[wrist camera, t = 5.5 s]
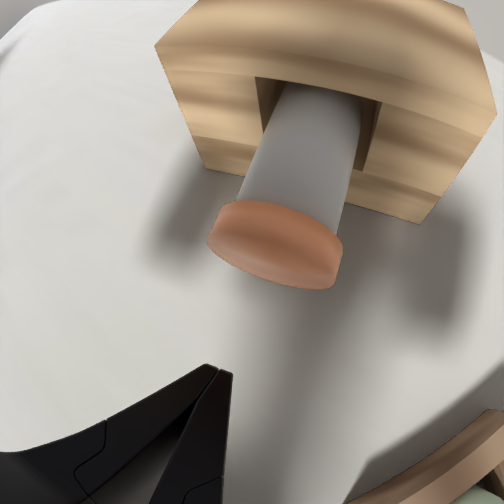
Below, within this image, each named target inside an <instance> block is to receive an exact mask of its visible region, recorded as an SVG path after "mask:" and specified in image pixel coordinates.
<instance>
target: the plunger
mask: <svg viewBox="0 0 504 504" xmlns="http://www.w3.org/2000/svg"><path fill="white" fill-rule="evenodd" d="M363 114H364V108H363V103H362V101H361V99H360V97H359V96H358V95H354V94H350V93H345V92H341V91H337V90H332V89H328V88H323V87H318V86H313V85H307V84H302V83H296V82H291V81H289V82H288V83H287V84H286V85H285V86H284V88H283V91H282V93H281V95H280V97H279V100H278V102H277V104H276V106H275V109H274V111H273V113H272V115H271V118H270V120H269V122H268V125H267V127H266V129H265V131H264V134H263V136H262V138H261V141H260V143H259V145H258V148H257V150H256V152H255V155H254V157H253V159H252V162H251V164H250V167H249V169H248V171H247V174H246V176H245V178H244V181H243V183H242V186H241V188H240V190H239V193H238V195H237V198H236V200H235V201H233V202H229V203H227V204H225V205H223V206H222V207H221V208H220V210H219V212H218V215H217V217H216V220H215V222H214V224H213V227H212V229H211V232H210V234H209V236H208V239H207V244H208V246H209V248H210V249H211V250H212V251H213V252H214V253H215V254H216V255H218V256H219V257H220V258H222V259H223V260H225V261H226V262H228V263H230V264H232V265H233V266H235V267H237V268H239V269H241V270H243V271H246V272H248V273H250V274H253V275H255V276H258V277H260V278H263V279H266V280H269V281H272V282H276V283H279V284H283V285H287V286H292V287H297V288H303V289H327V288H330V287H332V286H333V285H334V283H335V280H336V276H337V273H338V269H339V265H340V261H341V258H342V254H343V245H342V243H341V241H340V240H339V238H338V237H337V236H336V234H337V230H338V226H339V222H340V218H341V214H342V210H343V206H344V202H345V198H346V194H347V190H348V185H349V181H350V177H351V172H352V168H353V163H354V159H355V154H356V149H357V145H358V140H359V135H360V130H361V125H362V120H363Z"/></svg>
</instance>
